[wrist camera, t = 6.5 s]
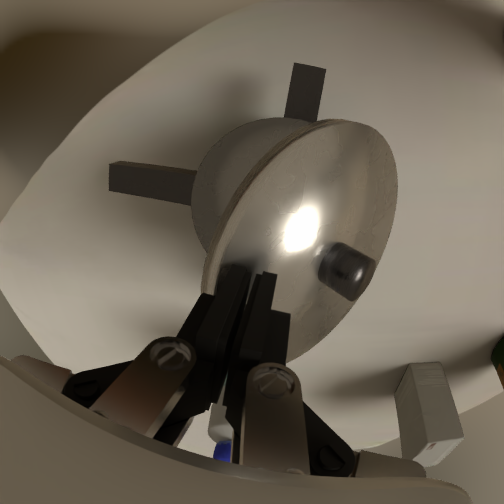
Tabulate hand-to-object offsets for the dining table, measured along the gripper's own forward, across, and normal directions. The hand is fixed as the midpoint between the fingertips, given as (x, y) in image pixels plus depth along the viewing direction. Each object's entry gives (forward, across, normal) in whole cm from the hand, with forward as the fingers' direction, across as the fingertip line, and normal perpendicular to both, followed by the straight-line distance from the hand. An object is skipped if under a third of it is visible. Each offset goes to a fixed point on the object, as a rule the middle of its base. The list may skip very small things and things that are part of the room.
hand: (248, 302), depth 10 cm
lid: (+6, -3, 0) cm, 6 cm away
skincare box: (+21, -28, +24) cm, 43 cm away
